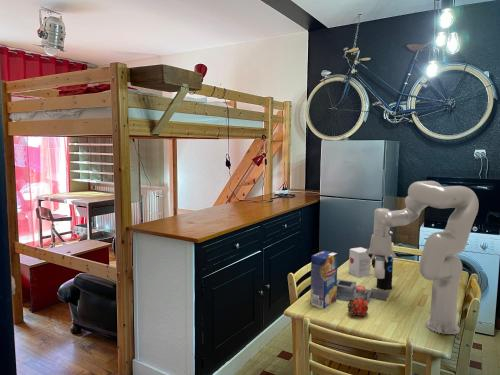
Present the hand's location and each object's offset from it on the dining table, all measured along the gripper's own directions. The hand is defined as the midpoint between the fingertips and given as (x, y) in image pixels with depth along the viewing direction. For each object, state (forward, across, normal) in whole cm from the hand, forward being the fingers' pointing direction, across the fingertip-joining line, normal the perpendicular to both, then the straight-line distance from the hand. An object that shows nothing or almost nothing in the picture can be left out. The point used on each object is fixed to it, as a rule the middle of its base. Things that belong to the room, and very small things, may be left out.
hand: (379, 267), depth 189 cm
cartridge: (+5, 0, 0) cm, 5 cm away
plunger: (+12, +7, +12) cm, 18 cm away
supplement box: (+15, +15, -27) cm, 34 cm away
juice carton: (+15, +22, +22) cm, 35 cm away
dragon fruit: (+15, +5, +27) cm, 31 cm away
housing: (+14, +12, +8) cm, 20 cm away
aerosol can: (+15, -1, -12) cm, 19 cm away
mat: (+14, 0, 0) cm, 14 cm away
